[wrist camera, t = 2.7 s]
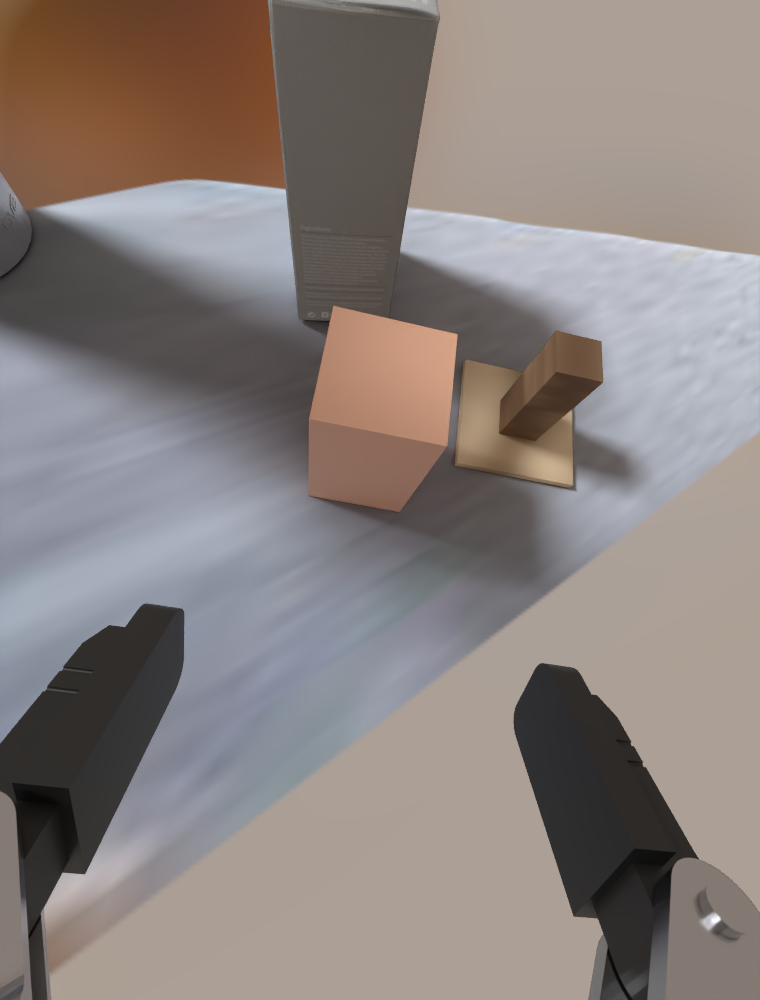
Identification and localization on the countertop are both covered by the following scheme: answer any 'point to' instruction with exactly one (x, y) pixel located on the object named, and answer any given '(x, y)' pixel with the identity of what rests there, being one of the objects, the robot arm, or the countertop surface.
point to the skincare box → (349, 141)
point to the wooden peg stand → (527, 411)
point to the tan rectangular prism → (379, 409)
